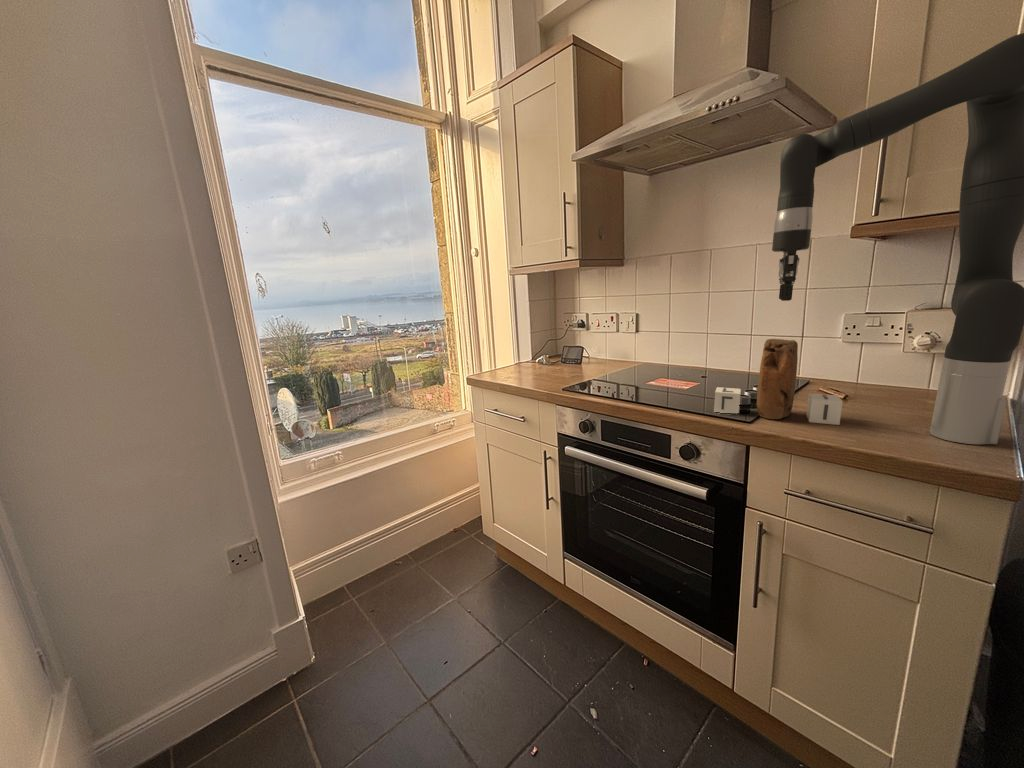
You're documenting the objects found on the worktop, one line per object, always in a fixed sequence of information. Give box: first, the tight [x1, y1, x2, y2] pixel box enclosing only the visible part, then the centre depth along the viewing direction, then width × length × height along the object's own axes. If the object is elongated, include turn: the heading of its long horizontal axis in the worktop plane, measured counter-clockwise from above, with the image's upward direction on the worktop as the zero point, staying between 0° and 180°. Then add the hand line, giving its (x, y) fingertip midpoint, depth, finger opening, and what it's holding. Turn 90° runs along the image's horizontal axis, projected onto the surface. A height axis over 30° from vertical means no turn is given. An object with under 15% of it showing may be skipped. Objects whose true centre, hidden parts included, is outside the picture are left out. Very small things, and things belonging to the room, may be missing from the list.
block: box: [756, 338, 799, 420], centre depth 107 cm, size 11×8×20 cm
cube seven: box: [713, 386, 742, 414], centre depth 114 cm, size 6×6×6 cm
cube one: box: [806, 393, 844, 426], centre depth 103 cm, size 6×6×6 cm
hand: (784, 299), depth 102 cm, fingers open, 7 cm apart
